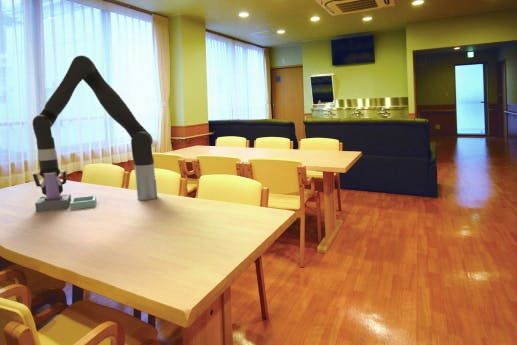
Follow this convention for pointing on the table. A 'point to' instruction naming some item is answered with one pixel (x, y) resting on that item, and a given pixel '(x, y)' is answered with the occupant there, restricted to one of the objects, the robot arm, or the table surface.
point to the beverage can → (51, 186)
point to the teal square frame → (83, 202)
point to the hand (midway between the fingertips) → (53, 193)
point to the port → (53, 203)
